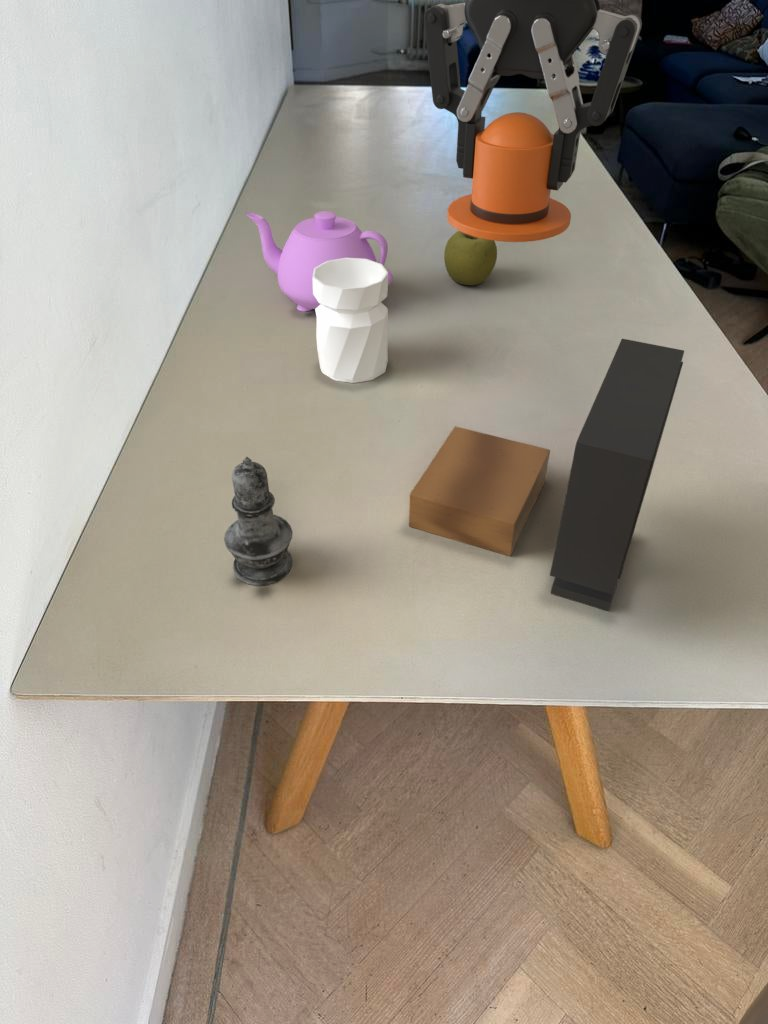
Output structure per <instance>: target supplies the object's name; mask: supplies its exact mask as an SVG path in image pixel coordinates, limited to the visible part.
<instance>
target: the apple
mask: <svg viewBox="0 0 768 1024" xmlns="http://www.w3.org/2000/svg"><path fill="white" fill-rule="evenodd" d="M443 258H444V266H445V269H446V273H447V274H448V276H449V277H450V279H452V281H454V282H455V283H457V284H459V285H464V286H477V285H480V284H482V283H483V282H485V281H486V280H487V279H488V278H489V277H490V275H491V274H492V272H493V271H494V268H495V266H496V263H497V260H498V248H497V244H496V241H493V240H487V239H482V238H477V237H474V236H470V235H468V234H465V233H462V232H461V231H459V230H457V231H456V232H455V233H454V234H452V235H451V236H450V237H449V239H448V240H447V242H446V244H445V248H444V253H443Z"/></svg>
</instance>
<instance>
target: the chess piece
mask: <svg viewBox="0 0 768 1024" xmlns="http://www.w3.org/2000/svg"><path fill="white" fill-rule="evenodd" d="M231 480H232V481H231V482H232V486H233V490H234V491H233V492H234V496H233V498H232V500H231V507H232V509H233V510H234V511H235V512H236V516H237V519H236V520H235V521H233V522H232V523H231V524H230V526H228V527H227V529H226V531H225V533H224V537H223V541H224V546H225V547H226V549H227V550H228V552H229V553H230V554H231V555H232V556H233V558H234V560H233V563H232V569H233V574H234V575H235V577H236V578H237V579H238V581H240V582H242V583H244V584H247V585H250V586H254V587H255V586H256V587H259V586H260V587H262V586H268V585H272V584H275V583H277V582H280V581H281V580H283V579H284V578H285V577H286V576H287V575H288V574H289V573H290V571H291V570H292V567H293V559H292V555H291V553H290V552H289V551H288V549H289V547H290V543H291V542H292V539H293V529H292V526H291V525H290V523H289V522H288V521H287V520H286V519H284V518H283V517H281V516H279V515H277V514H274V510H273V508H274V507H275V503H276V499H275V495H274V494H273V493H272V492H271V491H270V487H269V480H268V472H267V471H266V468H265V467H264V466H263V464H261V463H259V462H256V461H252V459H251V458H250V457H248V456H245V458H244V459H243V460H242V462H241V463H239V464H237V465H236V466H235V467H234V469H232V474H231Z"/></svg>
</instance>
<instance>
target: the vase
mask: <svg viewBox="0 0 768 1024" xmlns="http://www.w3.org/2000/svg"><path fill="white" fill-rule="evenodd" d="M312 280H313V295H314V296H315V298H316V299H317V301H318V302H319V303H320V305H319V306H318V307H317V308H316V309H314V311H315V315H316V325H315V326H316V327H315V329H316V330H315V334H316V335H315V336H316V337H315V338H316V339H315V340H316V350H317V357H318V362H319V368H320V370H321V373H322V374H324V375H325V376H327V377H328V378H330V379H331V380H332V381H337V382H343V383H350V384H355V383H361V382H369V381H374V380H375V379H376V378H378V377H379V376H382V375H383V374H385V373H386V370H387V366H388V364H389V354H388V346H389V345H388V344H389V309H388V307H387V306H386V305H385V304H384V303H383V301H384V300H386V298H388V291H389V290H388V288H389V285H388V272H387V271H386V268H385V265H384V266H383V265H382V264H380V263H378V261H377V262H374V261H371V260H368V259H363V258H341V259H335V260H330V261H326V262H324V263H322V264H321V265H319V266H317V267H315V268H314V271H313V277H312Z"/></svg>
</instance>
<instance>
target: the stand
mask: <svg viewBox="0 0 768 1024" xmlns="http://www.w3.org/2000/svg"><path fill="white" fill-rule="evenodd" d="M550 454H551V449H549V448H545V447H541V446H537V445H533V444H529V443H525V442H521V441H516V440H512V439H508V438H504V437H500V436H497V435H492V434H488V433H483V432H481V431H480V432H479V431H475V430H472V429H468V428H463V427H459V426H454V427H453V428H452V430H451V432H450V433H449V435H448V436H447V437H446V439H445V441H444V442H443V443H442V444H441V447H440V448H439V450H438V451H437V453H435V455H434V457H433V458H432V460H431V461H430V462H429V464H428V466H427V468H426V469H425V470H424V472H423V473H422V474H421V477H420V478H419V480H418V481H417V482H416V484H415V485H414V487H413V489H412V490H411V492H410V493H409V511H408V514H409V515H408V527H409V528H413V529H416V530H419V531H423V532H426V533H429V534H433V535H437V536H440V537H443V538H447V539H450V540H453V541H457V542H460V543H464V544H466V545H471V546H474V547H477V548H481V549H483V550H487V551H491V552H494V553H498V554H501V555H504V556H508V557H511V555H512V553H513V552H514V549H515V547H516V545H517V543H518V540H519V538H520V536H521V534H522V532H523V530H524V527H525V526H526V524H527V521H528V519H529V516H530V514H531V512H532V510H533V508H534V506H535V504H536V501H537V500H538V497H539V495H540V494H541V491H542V488H543V486H544V485H545V482H546V478H547V472H548V466H549V460H550Z"/></svg>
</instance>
